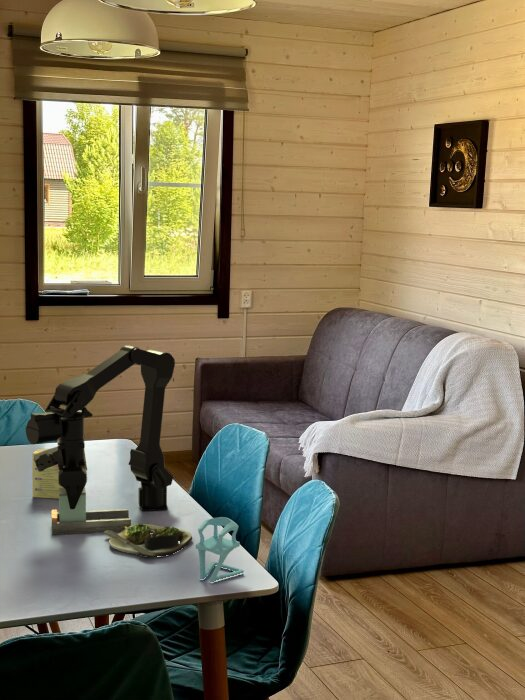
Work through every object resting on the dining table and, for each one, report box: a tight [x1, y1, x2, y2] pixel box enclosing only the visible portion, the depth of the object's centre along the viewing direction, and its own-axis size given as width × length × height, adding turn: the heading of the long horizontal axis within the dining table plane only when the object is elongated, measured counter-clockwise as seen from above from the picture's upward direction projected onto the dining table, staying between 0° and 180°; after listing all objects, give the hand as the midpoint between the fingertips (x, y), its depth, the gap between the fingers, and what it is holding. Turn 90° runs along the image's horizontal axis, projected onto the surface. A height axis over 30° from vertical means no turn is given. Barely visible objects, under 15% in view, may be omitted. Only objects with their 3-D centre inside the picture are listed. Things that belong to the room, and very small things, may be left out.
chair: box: [195, 516, 245, 582], centre depth 188 cm, size 8×8×12 cm
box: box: [31, 447, 63, 500], centre depth 237 cm, size 10×6×12 cm, turn 84°
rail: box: [51, 508, 132, 536], centre depth 216 cm, size 18×9×4 cm, turn 103°
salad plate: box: [103, 522, 193, 558], centre depth 206 cm, size 19×18×5 cm
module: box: [58, 486, 87, 522], centre depth 214 cm, size 6×4×8 cm
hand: (72, 502), depth 214 cm, fingers open, 9 cm apart
